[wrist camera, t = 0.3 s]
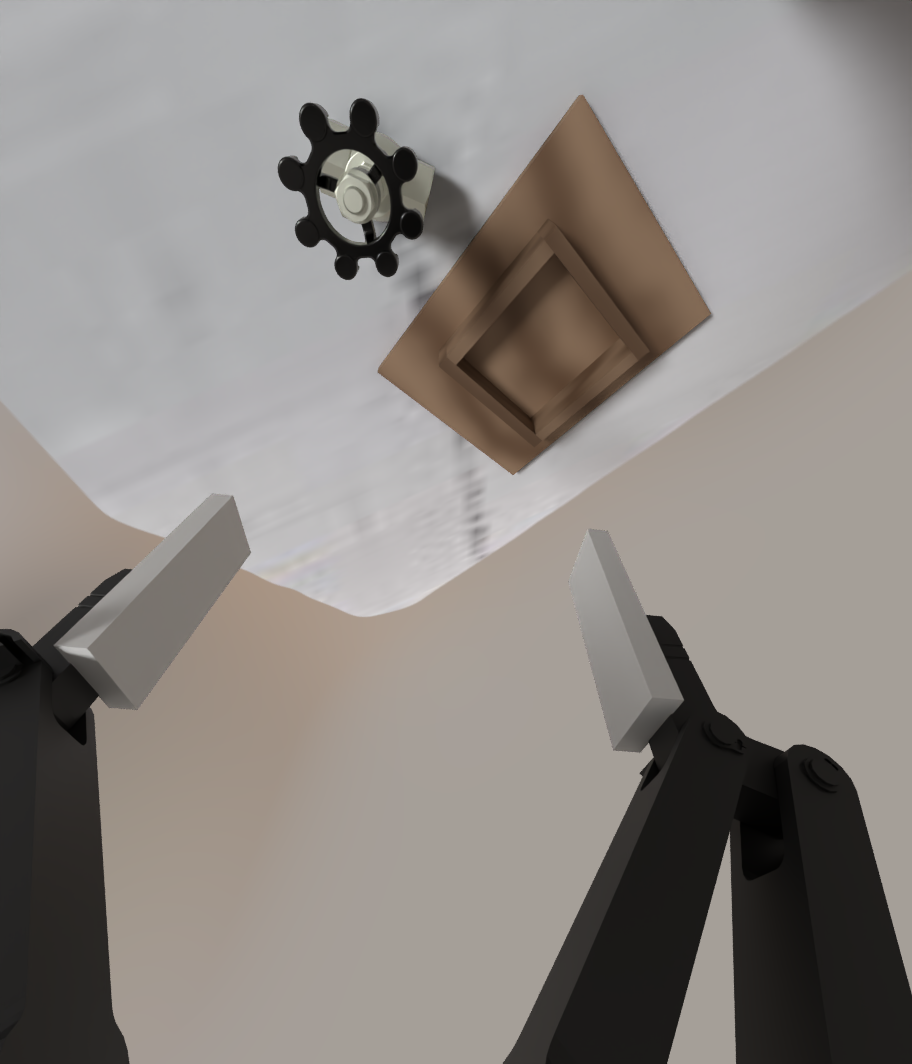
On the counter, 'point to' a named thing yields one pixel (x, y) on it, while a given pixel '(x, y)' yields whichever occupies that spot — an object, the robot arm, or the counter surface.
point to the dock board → (548, 302)
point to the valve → (358, 186)
